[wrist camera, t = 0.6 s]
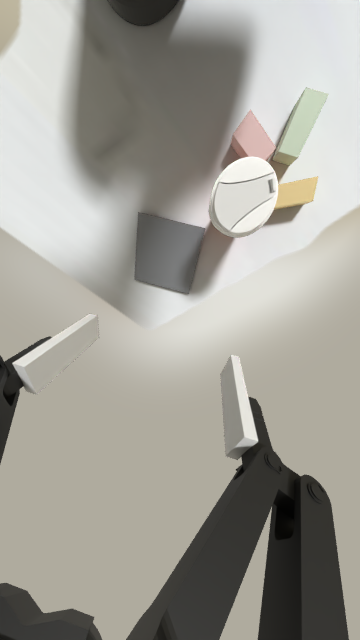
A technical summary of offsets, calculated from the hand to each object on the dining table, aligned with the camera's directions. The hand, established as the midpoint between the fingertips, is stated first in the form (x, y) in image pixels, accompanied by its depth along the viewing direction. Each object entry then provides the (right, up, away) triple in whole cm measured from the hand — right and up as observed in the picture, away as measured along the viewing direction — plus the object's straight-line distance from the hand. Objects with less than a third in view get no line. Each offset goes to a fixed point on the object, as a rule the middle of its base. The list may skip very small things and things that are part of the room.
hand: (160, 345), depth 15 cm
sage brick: (+19, +31, +9) cm, 37 cm away
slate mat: (-1, +17, +20) cm, 26 cm away
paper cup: (+12, +23, +15) cm, 29 cm away
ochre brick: (+21, +24, +12) cm, 34 cm away
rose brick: (+13, +30, +10) cm, 35 cm away
